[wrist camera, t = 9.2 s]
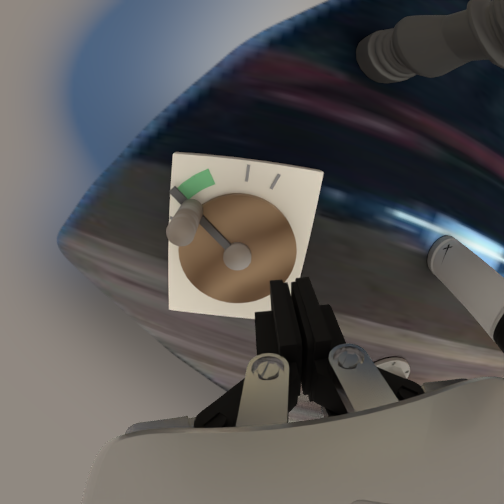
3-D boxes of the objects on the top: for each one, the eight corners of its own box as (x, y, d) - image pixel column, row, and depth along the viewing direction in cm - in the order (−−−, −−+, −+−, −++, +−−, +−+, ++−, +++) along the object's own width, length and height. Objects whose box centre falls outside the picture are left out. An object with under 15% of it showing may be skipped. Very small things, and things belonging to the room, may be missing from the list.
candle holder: (398, 90, 27) (589, 105, 4) (352, 73, 26) (544, 39, 4) (404, 47, 24) (579, 22, 2) (359, 28, 23) (524, -47, 1)
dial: (316, 253, 34) (334, 291, 27) (233, 312, 37) (232, 358, 30) (221, 143, 28) (213, 152, 21) (137, 223, 31) (110, 254, 24)
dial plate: (287, 314, 40) (288, 322, 38) (171, 303, 38) (168, 310, 37) (320, 169, 31) (324, 172, 30) (176, 151, 30) (172, 153, 28)
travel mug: (428, 236, 35) (521, 322, 17) (460, 233, 35) (549, 308, 17) (421, 274, 38) (497, 367, 20) (452, 270, 38) (527, 351, 20)
